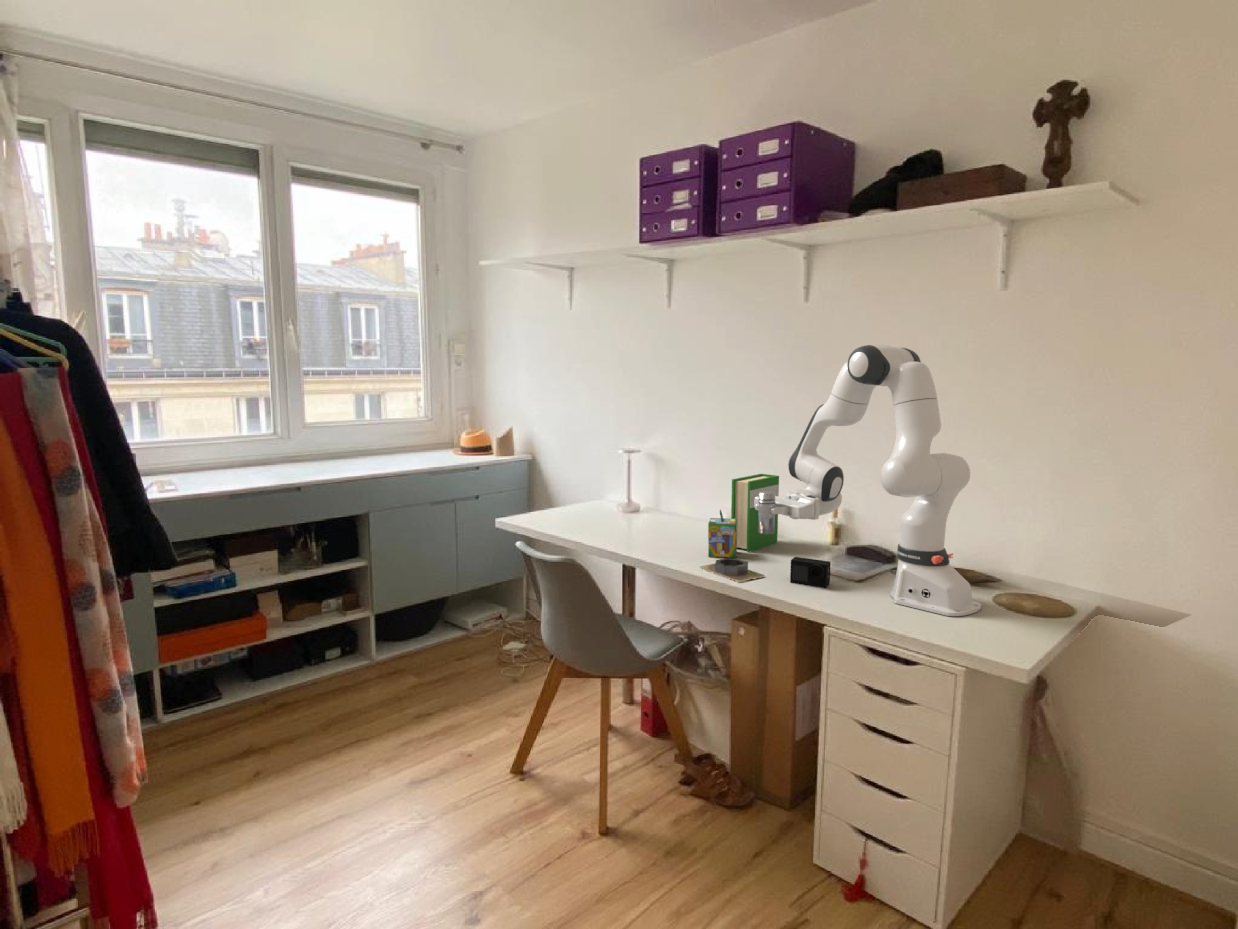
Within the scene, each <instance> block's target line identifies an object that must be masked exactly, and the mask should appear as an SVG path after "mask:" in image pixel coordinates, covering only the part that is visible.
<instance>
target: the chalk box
mask: <svg viewBox="0 0 1238 929" xmlns="http://www.w3.org/2000/svg"><path fill="white" fill-rule="evenodd" d="M719 515H720V516H719V518H718V517H716V518H715V517H710V519H709V521H708V526H707V531H708V535H707V536H708V553H707V557H708V558H731V559H737V549H738V547H737V519H731V518H727V517H724V516H723V512H722V510H721V509H719Z"/></svg>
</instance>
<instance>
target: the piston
mask: <svg viewBox="0 0 1238 929" xmlns="http://www.w3.org/2000/svg"><path fill="white" fill-rule="evenodd" d="M758 503H759V508H758V533H761V534H773V533H774V529H775V514H771V513H770V508H773V507H775V492H770V491H762V492H759V501H758Z"/></svg>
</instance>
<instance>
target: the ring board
mask: <svg viewBox="0 0 1238 929" xmlns="http://www.w3.org/2000/svg"><path fill="white" fill-rule="evenodd" d="M700 568H703V569H704V570H703V569H702V570H703V571H706V570H707V571H706V572H708V573H711V572H713V573H712V574H714V573H715V574H714V575H717V576H720V575H721V576H720V577H722V576H723V578H725V577H726V579H728V578H730V579H729V580H731V579H732V580H731V581H733V580H735V581H734V582H736V581H737V583H739V582H740V583H743V582H742V581H745V582H747V581H746V580H749V581H751V580H750V579H754V578H759V579H762V577H763V578H765V577H766V576H765V575H764V574H762V573H760V572H756V571H753V570H750V569H749V561H746V560H743V559H740V558H731V557H724V558H720V559H716V560H715V562H714V563H711V564H707V565H701V566H699V569H700ZM754 580H755V579H754Z"/></svg>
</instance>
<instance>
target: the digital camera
mask: <svg viewBox="0 0 1238 929" xmlns="http://www.w3.org/2000/svg"><path fill="white" fill-rule="evenodd" d="M789 578H790V579H789V582H790V584H794V583H795V585H800V586H802V585H803V586H809V587H814V588H820V589H826V588H828V587H829V586H830V585H831V584H830V583H831V581H830V580H831V561H828V560H821V559H815V558H808V557H799V556H794V557H792V558H791V559H790V574H789Z"/></svg>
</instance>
